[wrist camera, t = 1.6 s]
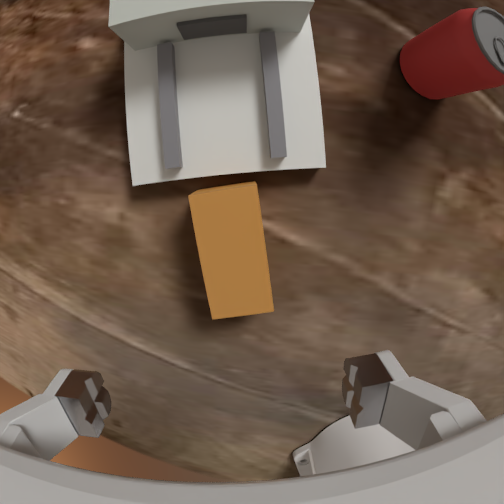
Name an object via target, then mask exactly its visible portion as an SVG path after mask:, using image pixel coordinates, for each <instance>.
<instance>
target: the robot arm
mask: <svg viewBox="0 0 504 504" xmlns="http://www.w3.org/2000/svg"><path fill="white" fill-rule="evenodd" d="M344 371H345V373H346V376H345V377H344V378H343V379H342V394H343V399H344V402H345V405H346V406H347V407H349V408H350V414H349V416H347V417H345V418H342V419H340V420H338V421H337V422H335V423H333V424H332V425H330V426H329V427H327V428H326V429H324V430H323V431H322V432H321V433H320V434H319V435H318V436H317V437H316V438H315V439H314V440H312V441H311V442H310V443H308V444H306V445H304V446H302V447H300V448H298V449H296V450H295V451H294V452H293V458H294V461H295V464H296V466H297V469H298V472H299V474H300V477H292V478H284V479H274V480H262V481H246V482H177V481H164V480H152V479H142V478H133V477H125V476H118V475H112V474H106V473H101V472H95V471H90V470H85V469H80V468H76V467H71V466H67V465H63V464H59V463H55V462H51V461H50V460H51V459H52V458H53V457H54V456H55V455H57V454H58V453H59V452H60V451H61V450H63V449H64V448H65V447H66V446H68V445H69V444H70V443H71V442H72V441H74V440H75V439H76V438H77V437H78V435H81V436H89V437H99V436H100V434H101V432H102V429H103V427H104V422H103V419H105V418H106V417H108V416H109V413H110V411H111V398H110V395H109V392H108V391H107V390H106V389H105V388H104V387H103V386H102V385H103V382H104V380H103V378H102V376H101V374H100V373H99V372H97V371H85V370H73V369H61V370H60V371H59V372H58V374H57V375H56V376H55V378H54V379H53V380H52V382H51V383H50V385H49V386H48V387H47V389H46V390H45V391H44V393H43V394H38V395H36V396H34V397H33V398H31V399H29V400H27V401H25V402H23V403H21V404H19V405H17V406H15V407H13V408H11V409H10V410H8V411H6V412H4V413H2V414H0V504H504V413H503V414H501V415H499V416H497V417H495V418H493V419H491V420H489V421H486V419H485V418H484V417H483V415H482V414H481V413H480V412H479V410H478V409H477V408H476V406H475V405H474V404H473V403H472V401H471V400H469V399H467V398H464V397H462V396H459V395H457V394H454V393H452V392H449V391H447V390H444V389H442V388H439V387H437V386H435V385H432V384H430V383H427V382H425V381H422V380H420V379H418V378H415V377H409V376H408V375H407V374H406V372H405V371H404V369H403V368H402V366H401V365H400V364H399V362H398V361H397V359H396V358H395V357H394V355H393V354H392V353H391V351H389V350H385V351H381V352H376V353H374V354H369V355H363V356H357V357H352V358H346V359H345V361H344Z"/></svg>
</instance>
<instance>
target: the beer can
mask: <svg viewBox="0 0 504 504" xmlns="http://www.w3.org/2000/svg"><path fill="white" fill-rule="evenodd" d="M400 66H401V71H402V73H403V75H404V77H405V79H406V81H407V82H408V84H409V85H410V86H411V87H412V88H413V89H414V90H415V91H416V92H417V93H419V94H420V95H422V96H424V97H426V98H429V99H437V100H439V99H443V98H447V97H451V96H455V95H460V94H464V93H469V92H474V91H478V90H483V89H488V88H493V87H498V86H501V85H504V17H503V16H502V15H501V14H499V13H498V12H496V11H495V10H494V9H491V8H488V7H479V8H470V9H462V10H459V11H457V12H455V13H454V14H452V15H450V16H449V17H447V18H445V19H444V20H442V21H440V22H439V23H437V24H435V25H434V26H432V27H430V28H429V29H427V30H425V31H424V32H422V33H421V34H419V35H418V36H416V37H414V38H413V39H411V40H410V41H408V42H407V43H406V44H405V45H404V46H403V48H402V50H401V52H400Z"/></svg>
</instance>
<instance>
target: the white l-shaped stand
mask: <svg viewBox="0 0 504 504" xmlns="http://www.w3.org/2000/svg"><path fill="white" fill-rule="evenodd" d="M313 3H314V0H110V10H109V28H111V29H112V30H113V31H114V32H115V33H116V34H117V35H118V36H119V37H121V38H122V39H123V40H124V74H125V102H126V120H127V134H128V146H129V157H130V167H131V176H132V185H133V186H136V185H142V184H149V183H156V182H164V181H171V180H179V179H187V178H196V177H205V176H214V175H224V174H235V173H246V172H258V171H271V170H286V169H304V168H326V160H325V146H324V133H323V122H322V111H321V101H320V91H319V82H318V74H317V66H316V58H315V51H314V43H313V36H312V30H311V23H310V17H309V12H310V10H311V8H312V6H313Z"/></svg>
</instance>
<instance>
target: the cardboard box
mask: <svg viewBox="0 0 504 504" xmlns="http://www.w3.org/2000/svg"><path fill="white" fill-rule="evenodd" d="M188 197H189V203H190V209H191V214H192V220H193V225H194V231H195V236H196V242H197V247H198V252H199V257H200V262H201V267H202V272H203V277H204V282H205V287H206V292H207V297H208V302H209V306H210V311H211V315H212V319H221V318H229V317H237V316H245V315H252V314H259V313H267V312H274V307H273V299H272V292H271V284H270V277H269V269H268V262H267V254H266V247H265V239H264V232H263V225H262V218H261V210H260V203H259V196H258V189H257V184H256V182H255V181H251V182H244V183H237V184H231V185H224V186H218V187H212V188H205V189H199V190H197V191H195V192H193V193H192V194H190V195H188Z"/></svg>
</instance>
